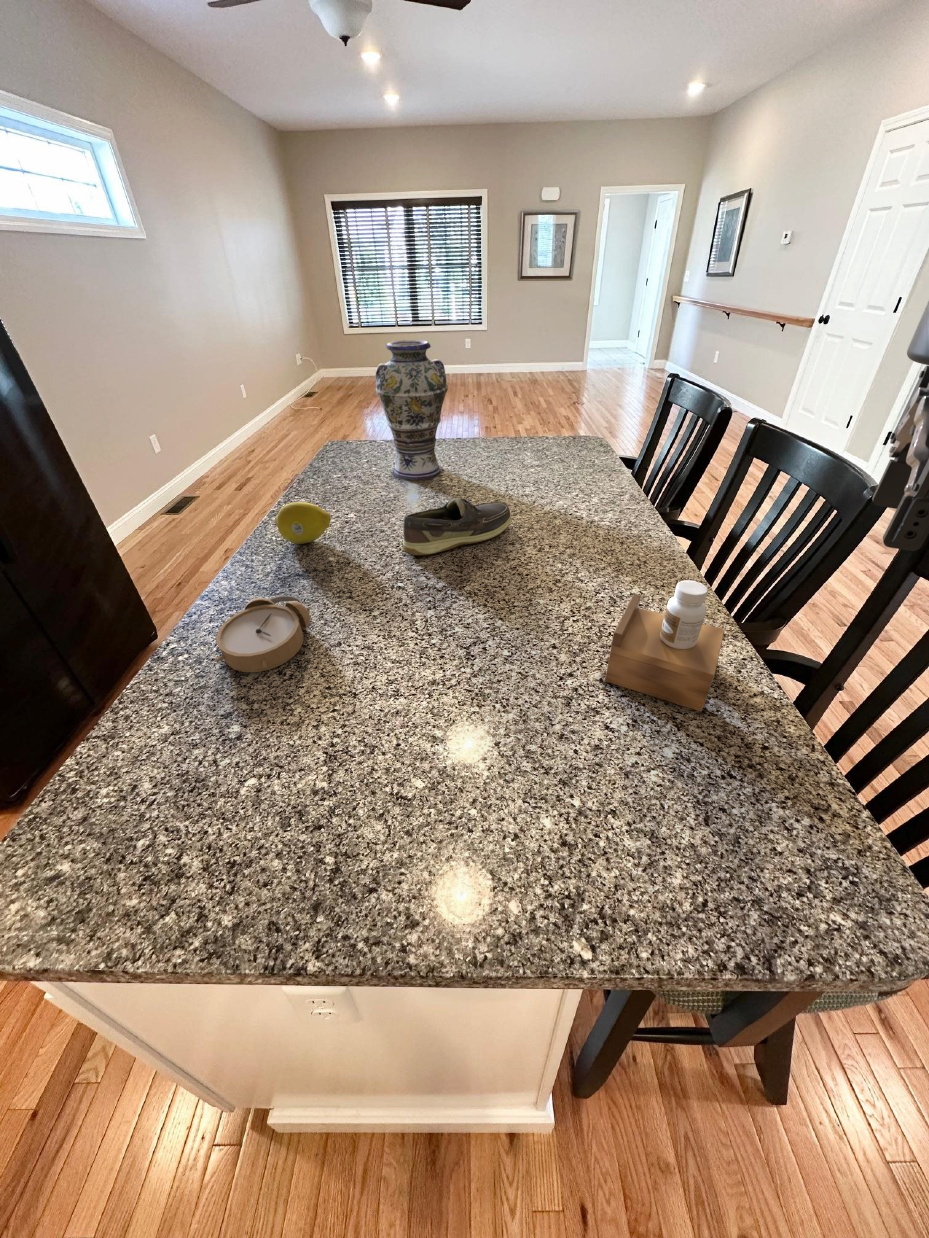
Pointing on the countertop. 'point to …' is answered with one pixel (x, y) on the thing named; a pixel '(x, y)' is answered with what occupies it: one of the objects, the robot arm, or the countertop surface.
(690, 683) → the shelf
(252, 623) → the alarm clock
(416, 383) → the vase
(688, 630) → the pill bottle
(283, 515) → the lemon
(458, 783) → the countertop surface
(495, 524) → the boat shoe
